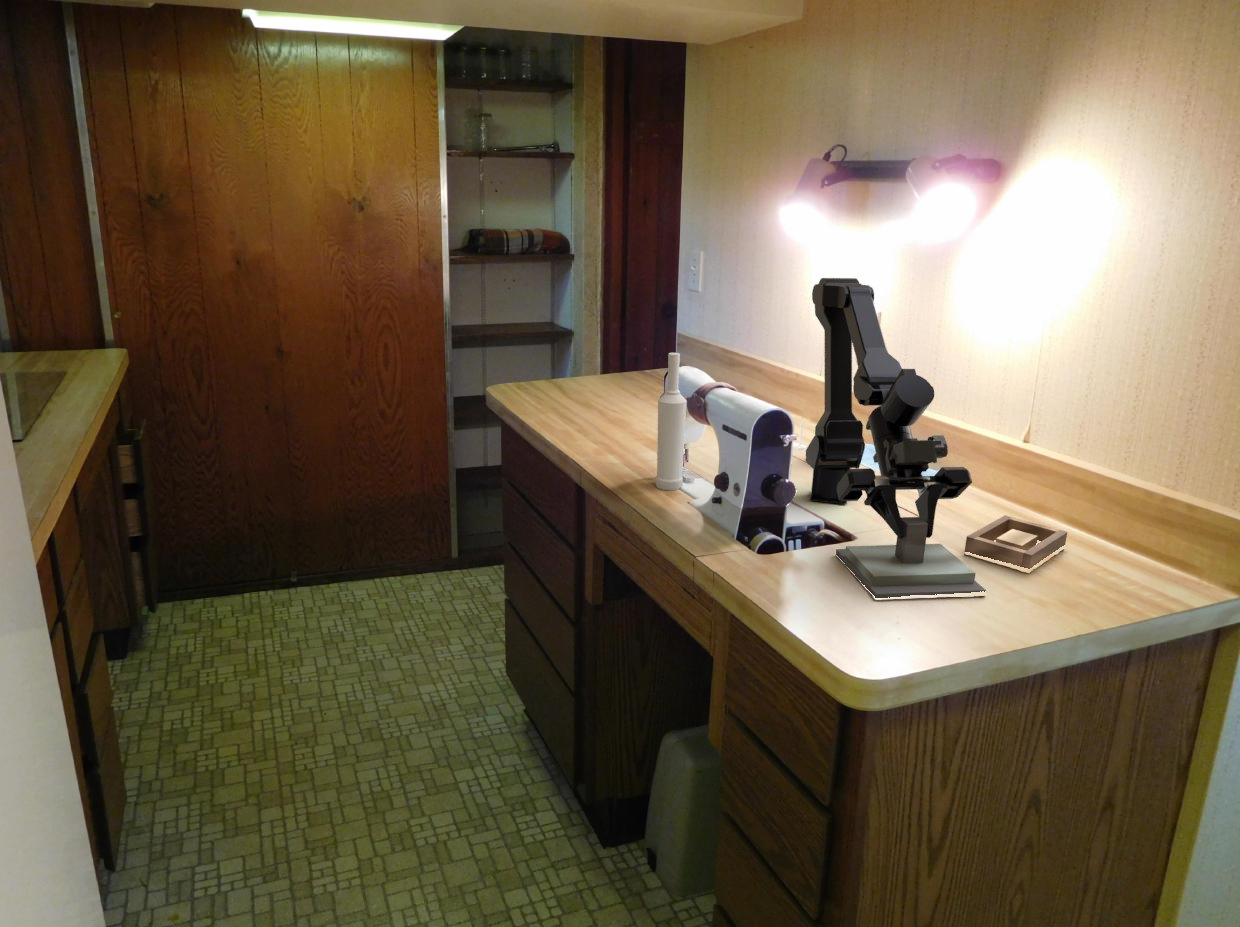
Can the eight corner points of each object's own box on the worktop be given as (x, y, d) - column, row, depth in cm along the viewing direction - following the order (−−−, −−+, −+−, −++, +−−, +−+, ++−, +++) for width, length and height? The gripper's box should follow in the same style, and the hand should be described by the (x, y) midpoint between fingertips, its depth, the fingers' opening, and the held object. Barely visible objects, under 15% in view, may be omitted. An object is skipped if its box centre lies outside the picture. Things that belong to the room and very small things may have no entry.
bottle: (650, 487, 171) (654, 354, 164) (662, 480, 176) (667, 350, 168) (675, 492, 169) (681, 357, 162) (687, 484, 173) (693, 353, 166)
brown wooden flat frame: (964, 554, 144) (966, 536, 143) (1002, 532, 153) (1005, 515, 152) (1028, 573, 137) (1031, 555, 136) (1064, 549, 147) (1067, 531, 146)
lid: (845, 555, 140) (849, 508, 138) (939, 552, 142) (945, 506, 139) (873, 586, 129) (878, 536, 127) (974, 582, 131) (981, 533, 129)
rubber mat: (835, 555, 142) (836, 549, 142) (934, 552, 144) (935, 546, 144) (875, 600, 127) (876, 593, 127) (985, 596, 129) (986, 590, 129)
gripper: (851, 415, 131) (872, 515, 124) (975, 414, 134) (1003, 512, 127) (827, 452, 141) (846, 547, 134) (943, 450, 144) (968, 543, 136)
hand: (915, 537), depth 133 cm, fingers open, 4 cm apart
